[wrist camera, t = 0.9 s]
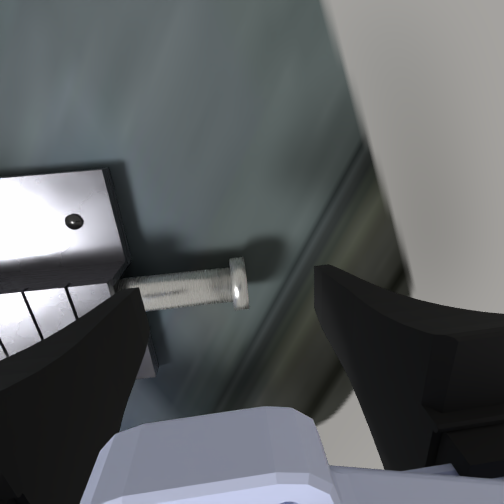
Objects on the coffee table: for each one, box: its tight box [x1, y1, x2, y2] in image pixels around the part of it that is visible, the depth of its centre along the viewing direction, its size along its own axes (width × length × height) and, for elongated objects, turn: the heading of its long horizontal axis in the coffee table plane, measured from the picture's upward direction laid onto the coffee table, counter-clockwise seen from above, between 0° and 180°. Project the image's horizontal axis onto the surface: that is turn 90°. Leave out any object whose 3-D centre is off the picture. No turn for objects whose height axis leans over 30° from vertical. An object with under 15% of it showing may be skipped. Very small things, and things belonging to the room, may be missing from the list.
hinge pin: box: [113, 257, 249, 312], centre depth 20 cm, size 14×4×4 cm, turn 95°
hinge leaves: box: [0, 168, 159, 379], centre depth 19 cm, size 12×16×4 cm
